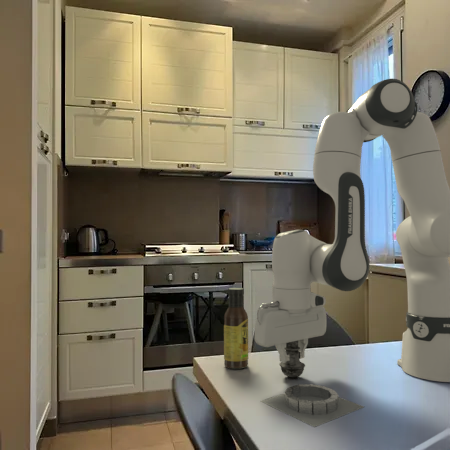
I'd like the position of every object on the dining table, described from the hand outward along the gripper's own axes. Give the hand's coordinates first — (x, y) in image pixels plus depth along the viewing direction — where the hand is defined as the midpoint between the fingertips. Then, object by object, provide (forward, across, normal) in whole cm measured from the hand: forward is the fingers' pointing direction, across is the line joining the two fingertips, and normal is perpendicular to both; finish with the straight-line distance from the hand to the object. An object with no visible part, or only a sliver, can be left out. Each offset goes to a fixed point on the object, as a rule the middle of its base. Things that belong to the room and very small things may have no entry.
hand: (292, 360), depth 94 cm
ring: (+4, -8, -13) cm, 16 cm away
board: (+5, -8, -13) cm, 16 cm away
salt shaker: (+5, 0, 0) cm, 5 cm away
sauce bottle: (+5, -4, +16) cm, 17 cm away
